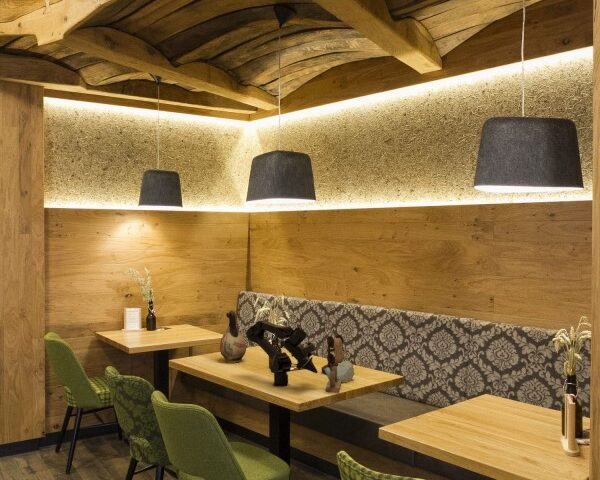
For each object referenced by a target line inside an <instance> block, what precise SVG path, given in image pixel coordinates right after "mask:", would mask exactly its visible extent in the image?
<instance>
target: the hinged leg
mask: <svg viewBox="0 0 600 480" xmlns="http://www.w3.org/2000/svg"><path fill="white" fill-rule="evenodd" d="M324 370H325V375H326V376H327V378H328V381H330V372H331V371H330V369H329V367H327V368H325V369H324Z"/></svg>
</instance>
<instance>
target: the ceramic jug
mask: <svg viewBox="0 0 600 480" xmlns="http://www.w3.org/2000/svg"><path fill="white" fill-rule="evenodd" d="M226 318H228V326H227V328H226V330H225V332H224V333H223V334H222V337H221V339H220V342H219V353H220V355H221V356H222V357H223V359H224V360H225V362H226V363H233V364H234V363H238V362H241V361H242V360H243V357H244V356H245V354H246V351H247V344H246V343H247V342H246V341H245V340H246V339H245V337H244V335H243V334H242V332H241V331H240V330H239V328H238V327H237V326H236V325H237V324H236V323H237V322H236V320H237V319H236V313H235V311H234V310H230V311H229V312H226Z"/></svg>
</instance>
